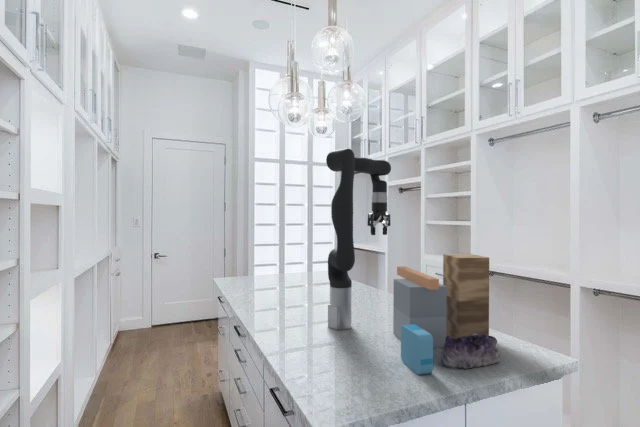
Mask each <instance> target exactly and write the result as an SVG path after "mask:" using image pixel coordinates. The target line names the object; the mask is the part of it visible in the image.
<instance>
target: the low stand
mask: <svg viewBox="0 0 640 427" xmlns="http://www.w3.org/2000/svg"><path fill="white" fill-rule="evenodd" d="M392 301H393V305H392V306H393V308H392V309H393V312H392V314H393V317H392V318H393V322H392V323H393V326H392V327H393V328H392V329H393V330H392V332H393V333H392V334H393V335H394V336H395V337H396V338H397V339H398V340H400V342H401V327H402V325H413V324H415V325H417V326H418V327H420V328H422V329H423V330H425V331H427V332H428V333H430V334H431V335H432V337H433V349H434V348H443V346H444V343H445V339H446V286H444V285H443V283H439V289H432V290H429V289H427V288H425V287H423V286H421V285H418V284H416V283H414V282H412V281H410V280H407V279H405V278H393V300H392Z"/></svg>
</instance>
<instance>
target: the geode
mask: <svg viewBox="0 0 640 427" xmlns="http://www.w3.org/2000/svg"><path fill="white" fill-rule="evenodd" d="M497 345H498V340H497V338H496V337H495V336H492V335H489V337H488V338H486V335H485V334H481V335H478V334H477V333H476V334H473V335H469V336H467V337H465V336H464V337H458V338H457V339H455V338H450V337H449V336H448V335H447V336H446V339H445V343H444V346H443V347H442V350H441V362H442V366H444V368H447V369H453V370H461V371H462V370H466V369H472V368H478V367H479V368H480V367H483V366H484V367H486V366H491V365H494V364H497V363H500V361H501V360H500V358H501V351H500V350H499V348H498V347H497Z"/></svg>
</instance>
